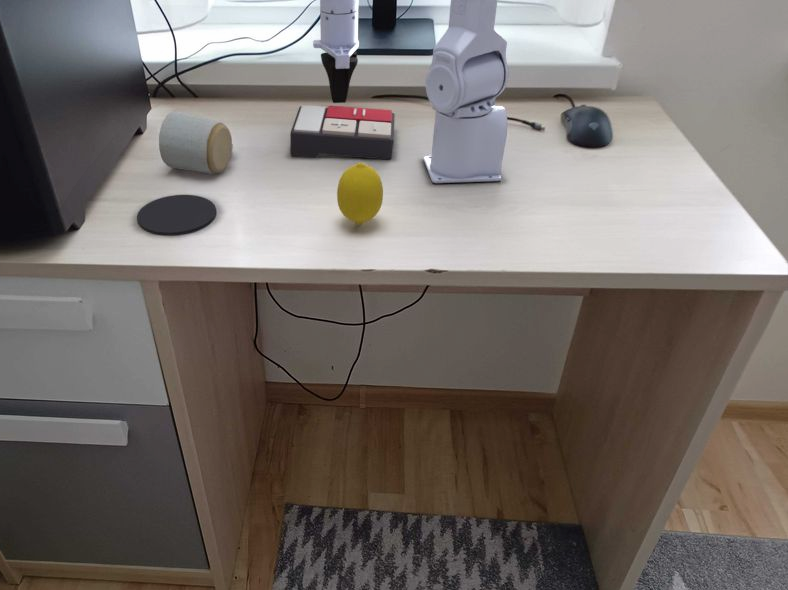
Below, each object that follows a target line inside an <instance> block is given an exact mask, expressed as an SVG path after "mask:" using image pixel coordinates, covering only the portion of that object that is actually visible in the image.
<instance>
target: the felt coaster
mask: <svg viewBox="0 0 788 590" xmlns="http://www.w3.org/2000/svg"><path fill="white" fill-rule="evenodd" d="M216 216H217V207H216V205H215V203H214V202H213V201H211V200H210V199H208V198H205V197H204V196H199V195H194V194H175V195H174V194H173V195H167V196H163V197H159V198H157V199H154V200H152V201H150V202H147V203H146V204H145V205H143V206H142V207H141V208H140V209H139V210H138V212H137V214H136V222H137V224H138V226H139V227H140V228H141V229H143V231H146V232H148V233H151V234H155V235H160V236H180V235H185V234H190V233H194V232H197V231H199V230H201V229H204V228H205V227H208V225H210V224H211V223H212V222H213V221H214V220H215V218H216Z"/></svg>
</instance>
